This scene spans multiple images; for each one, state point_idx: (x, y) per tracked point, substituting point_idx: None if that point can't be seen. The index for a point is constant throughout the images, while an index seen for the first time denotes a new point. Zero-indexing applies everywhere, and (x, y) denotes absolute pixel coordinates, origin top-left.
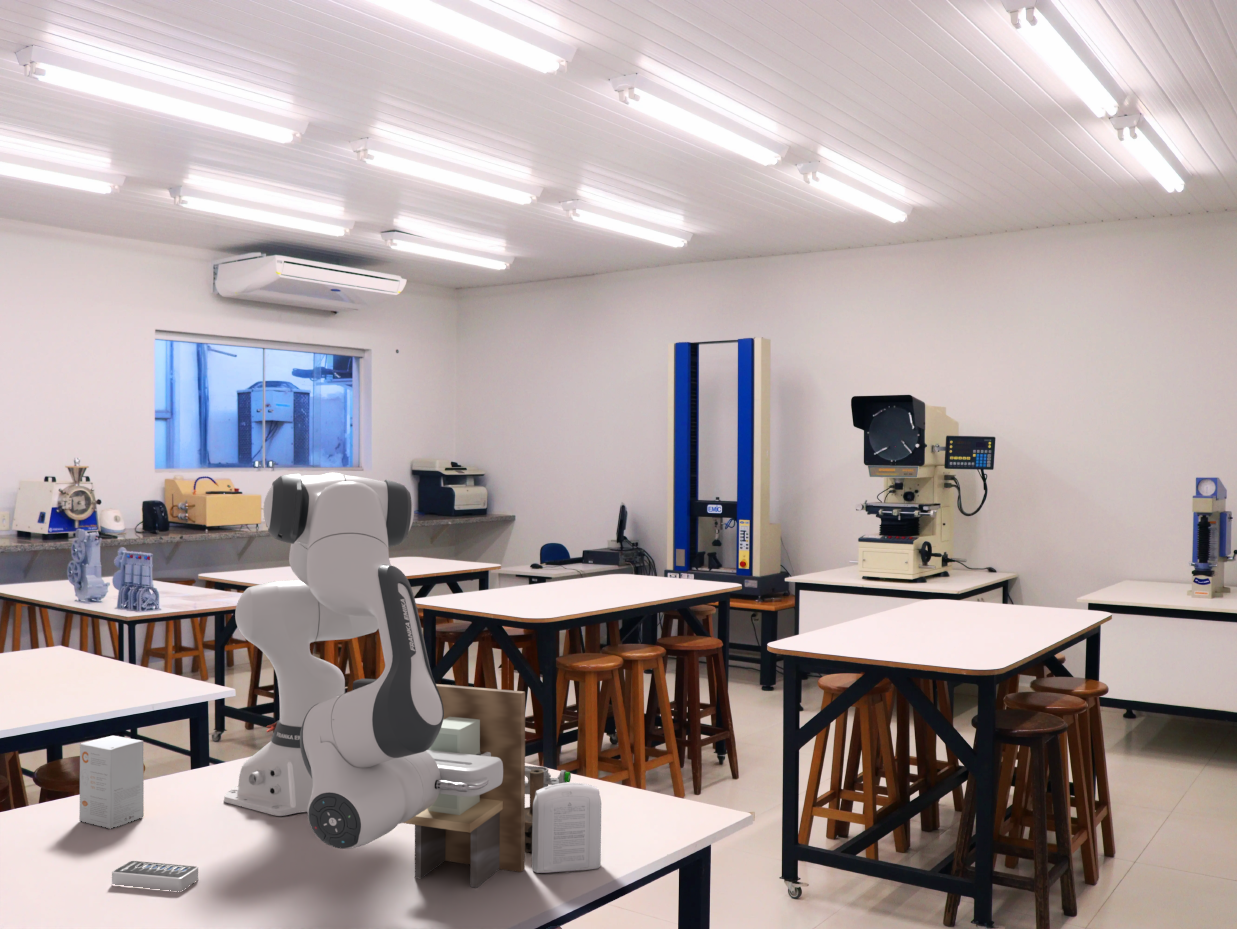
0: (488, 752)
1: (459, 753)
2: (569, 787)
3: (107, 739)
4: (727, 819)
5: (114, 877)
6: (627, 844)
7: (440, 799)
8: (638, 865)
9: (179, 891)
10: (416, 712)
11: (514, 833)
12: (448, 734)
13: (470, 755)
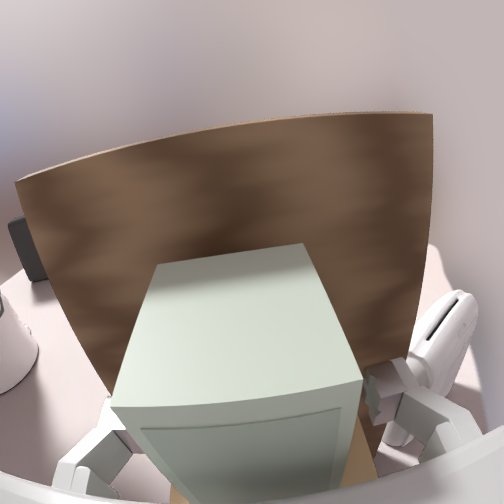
0: (405, 364)
1: (402, 490)
2: (460, 316)
3: None
4: (430, 252)
5: None
6: (415, 324)
7: None
8: (469, 353)
9: None
10: None
11: (371, 430)
12: (273, 421)
13: (473, 472)
